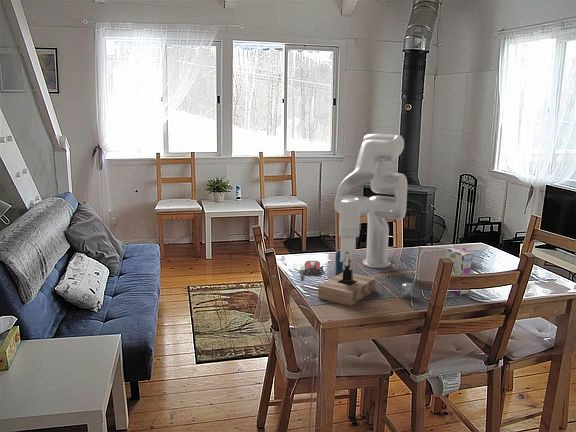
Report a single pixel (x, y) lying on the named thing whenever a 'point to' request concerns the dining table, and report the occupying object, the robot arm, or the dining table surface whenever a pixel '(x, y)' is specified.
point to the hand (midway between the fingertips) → (347, 277)
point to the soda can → (338, 263)
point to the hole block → (346, 289)
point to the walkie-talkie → (310, 268)
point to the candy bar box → (460, 263)
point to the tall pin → (350, 282)
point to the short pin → (407, 290)
